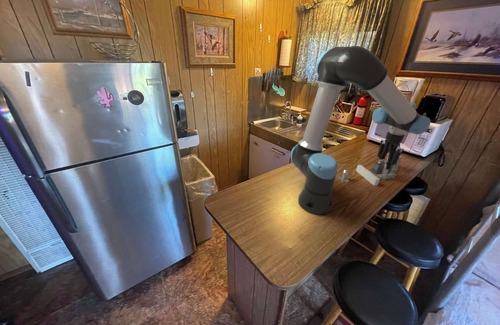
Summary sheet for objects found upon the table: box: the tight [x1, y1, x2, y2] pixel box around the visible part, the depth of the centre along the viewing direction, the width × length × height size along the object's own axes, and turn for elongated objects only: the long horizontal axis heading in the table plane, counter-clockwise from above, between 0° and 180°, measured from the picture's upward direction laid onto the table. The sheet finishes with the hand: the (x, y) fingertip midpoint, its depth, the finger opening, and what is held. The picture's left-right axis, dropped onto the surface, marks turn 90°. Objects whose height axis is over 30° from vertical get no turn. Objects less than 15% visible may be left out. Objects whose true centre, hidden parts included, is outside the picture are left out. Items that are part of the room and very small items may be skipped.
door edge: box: [355, 164, 381, 187], centre depth 112 cm, size 2×16×4 cm, turn 8°
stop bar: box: [370, 160, 393, 174], centre depth 111 cm, size 9×4×7 cm, turn 98°
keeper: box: [367, 169, 397, 181], centre depth 114 cm, size 14×6×3 cm, turn 98°
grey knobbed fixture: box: [337, 168, 350, 183], centre depth 110 cm, size 4×5×6 cm
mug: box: [385, 152, 403, 173], centre depth 121 cm, size 8×12×12 cm, turn 31°
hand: (381, 171), depth 113 cm, fingers closed on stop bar, 3 cm apart
